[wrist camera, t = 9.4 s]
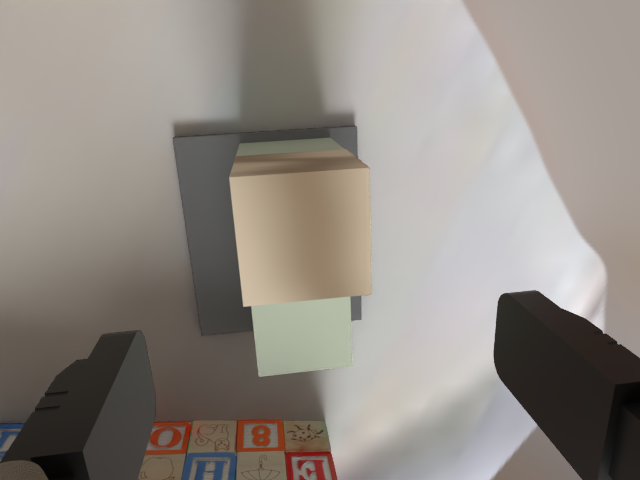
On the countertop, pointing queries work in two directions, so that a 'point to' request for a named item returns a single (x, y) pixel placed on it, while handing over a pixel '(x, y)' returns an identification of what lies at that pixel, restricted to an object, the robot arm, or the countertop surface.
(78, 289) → the countertop surface
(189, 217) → the build mat
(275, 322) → the sage block far
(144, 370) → the robot arm
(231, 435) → the stack of blocks
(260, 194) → the maple block
